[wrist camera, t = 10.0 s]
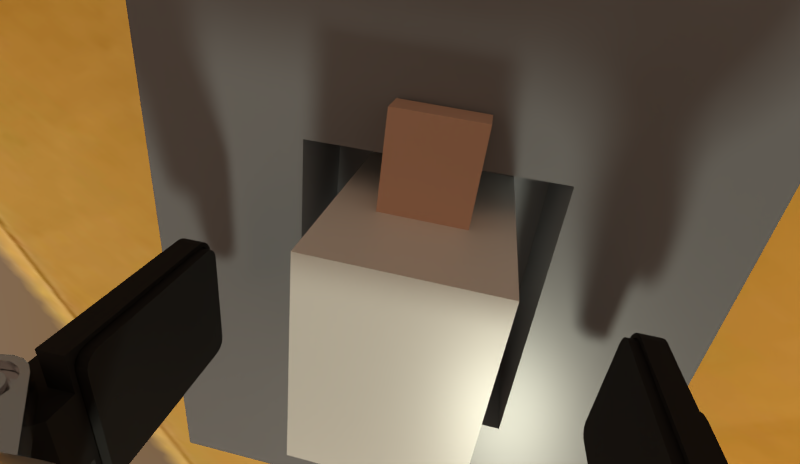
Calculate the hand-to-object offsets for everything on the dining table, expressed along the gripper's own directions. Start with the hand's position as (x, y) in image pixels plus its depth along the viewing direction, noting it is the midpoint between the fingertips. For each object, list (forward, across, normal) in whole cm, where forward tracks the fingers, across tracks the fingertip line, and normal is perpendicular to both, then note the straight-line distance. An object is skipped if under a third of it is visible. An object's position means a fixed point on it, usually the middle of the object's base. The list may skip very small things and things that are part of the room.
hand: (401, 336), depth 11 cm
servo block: (+4, 0, 0) cm, 4 cm away
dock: (+5, 0, 0) cm, 5 cm away
